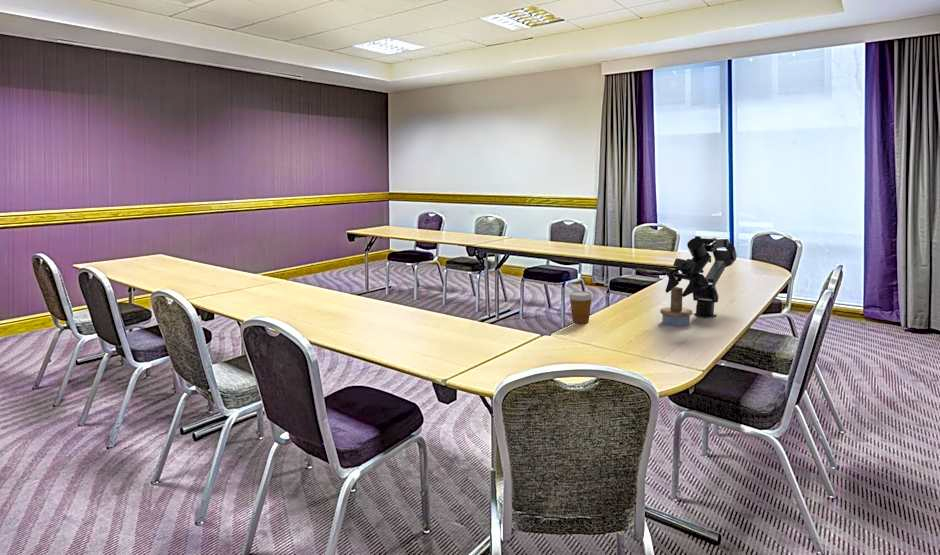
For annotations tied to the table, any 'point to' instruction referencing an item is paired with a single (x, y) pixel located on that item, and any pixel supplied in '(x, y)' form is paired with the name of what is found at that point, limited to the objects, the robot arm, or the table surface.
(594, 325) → the table surface
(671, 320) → the slate bowl
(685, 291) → the robot arm
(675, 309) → the walnut lid
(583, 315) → the disposable coffee cup
